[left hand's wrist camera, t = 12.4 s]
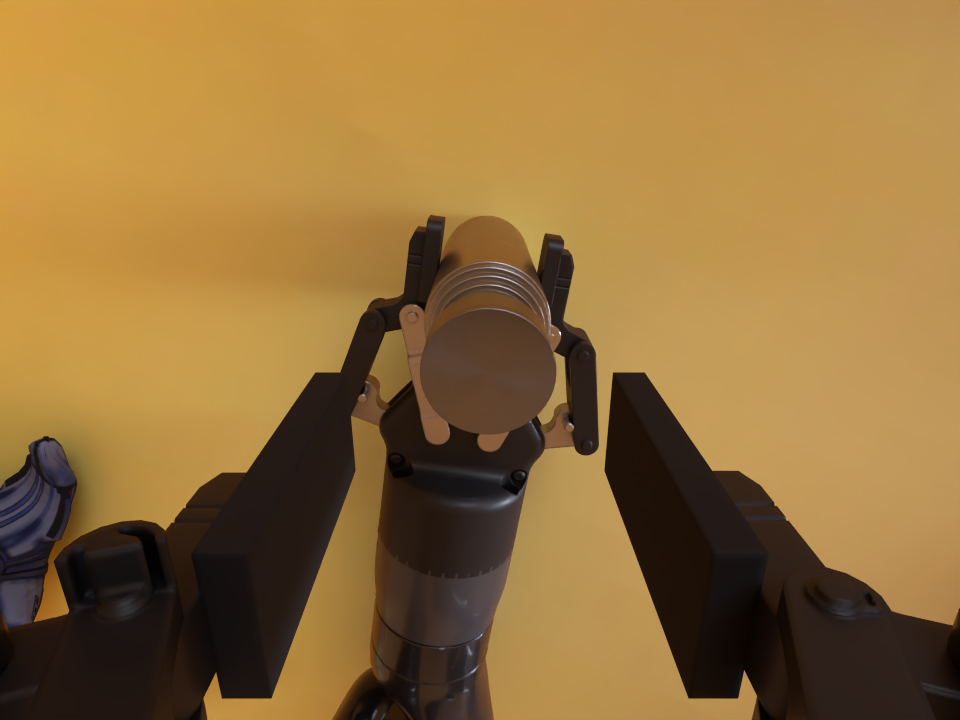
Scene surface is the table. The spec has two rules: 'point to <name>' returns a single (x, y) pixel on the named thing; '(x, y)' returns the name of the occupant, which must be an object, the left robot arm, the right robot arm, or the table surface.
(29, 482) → the toy dinosaur
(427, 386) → the cap
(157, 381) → the table surface
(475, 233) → the bottle
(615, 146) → the table surface
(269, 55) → the table surface
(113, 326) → the table surface
